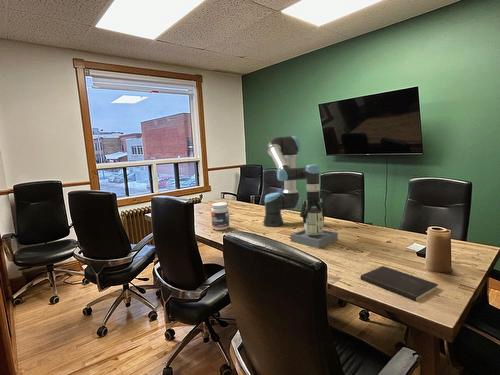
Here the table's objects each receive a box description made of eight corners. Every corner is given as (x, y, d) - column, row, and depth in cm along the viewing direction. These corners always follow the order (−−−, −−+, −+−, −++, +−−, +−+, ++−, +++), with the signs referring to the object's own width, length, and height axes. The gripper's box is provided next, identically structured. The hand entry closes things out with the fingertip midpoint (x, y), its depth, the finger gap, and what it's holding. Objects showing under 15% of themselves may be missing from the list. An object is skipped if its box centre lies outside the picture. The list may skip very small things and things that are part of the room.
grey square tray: (290, 241, 178) (290, 234, 177) (310, 233, 191) (310, 227, 190) (318, 248, 163) (318, 240, 162) (337, 239, 176) (337, 232, 176)
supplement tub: (209, 230, 211) (207, 205, 208) (215, 226, 223) (214, 202, 221) (226, 231, 208) (225, 205, 205) (231, 226, 220) (230, 202, 218)
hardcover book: (382, 270, 132) (382, 265, 131) (438, 289, 112) (438, 284, 112) (360, 280, 123) (360, 275, 123) (415, 303, 104) (415, 297, 104)
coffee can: (306, 229, 183) (306, 207, 181) (323, 230, 179) (323, 208, 178) (304, 234, 173) (303, 211, 171) (321, 235, 170) (321, 211, 168)
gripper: (299, 193, 166) (300, 231, 169) (333, 189, 173) (333, 226, 176) (293, 191, 173) (294, 228, 176) (325, 188, 180) (326, 223, 183)
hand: (313, 227), depth 176 cm, fingers closed on coffee can, 10 cm apart
